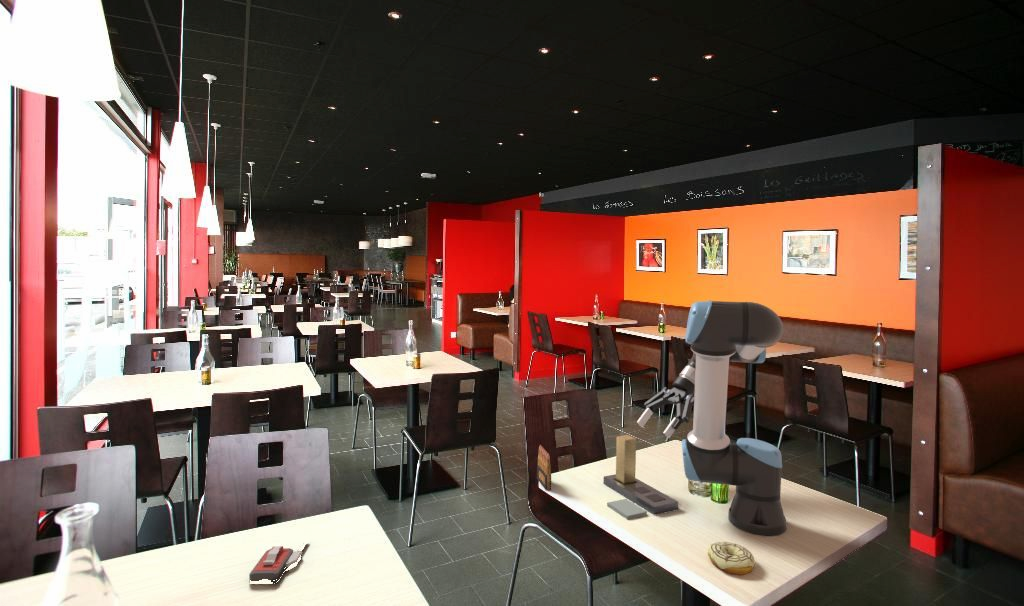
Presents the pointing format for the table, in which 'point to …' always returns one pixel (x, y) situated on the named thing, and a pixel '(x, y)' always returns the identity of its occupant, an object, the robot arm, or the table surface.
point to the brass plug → (625, 459)
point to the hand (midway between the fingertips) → (652, 430)
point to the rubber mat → (626, 509)
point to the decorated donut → (731, 557)
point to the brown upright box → (544, 469)
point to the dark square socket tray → (643, 495)
